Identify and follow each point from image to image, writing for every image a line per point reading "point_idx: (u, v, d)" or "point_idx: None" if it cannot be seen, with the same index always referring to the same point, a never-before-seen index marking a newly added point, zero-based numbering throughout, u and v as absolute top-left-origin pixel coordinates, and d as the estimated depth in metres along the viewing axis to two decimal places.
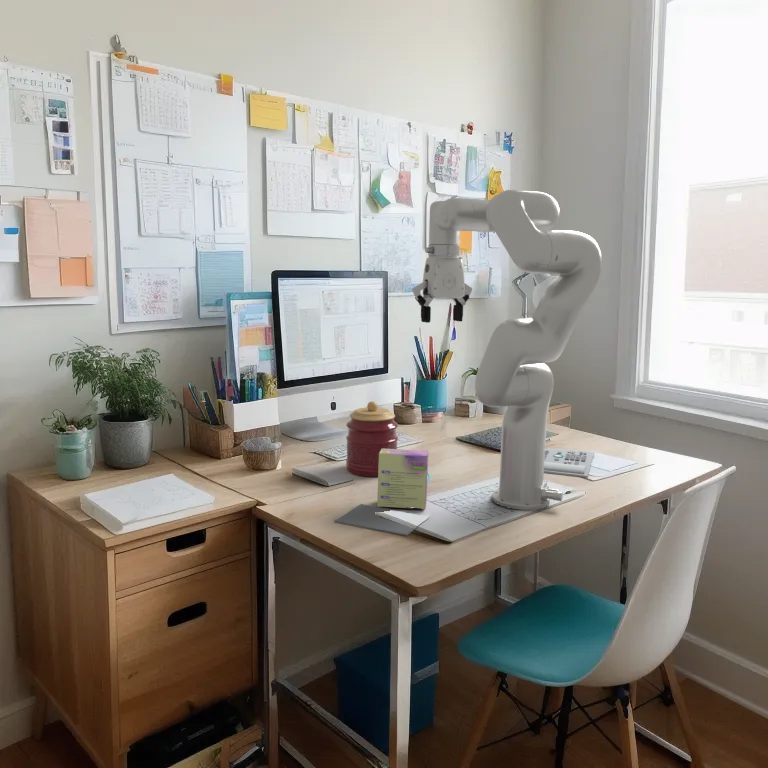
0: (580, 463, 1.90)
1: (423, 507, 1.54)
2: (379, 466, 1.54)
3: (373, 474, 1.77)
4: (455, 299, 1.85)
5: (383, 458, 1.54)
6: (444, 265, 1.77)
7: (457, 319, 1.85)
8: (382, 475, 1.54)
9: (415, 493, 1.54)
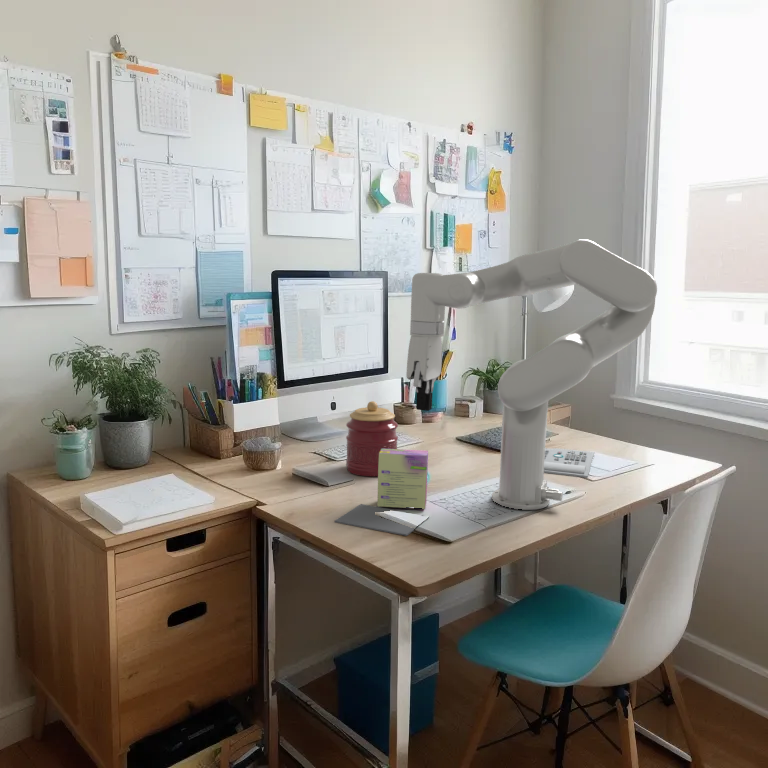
0: (580, 463, 1.90)
1: (423, 507, 1.54)
2: (379, 466, 1.54)
3: (373, 474, 1.77)
4: None
5: (383, 458, 1.54)
6: None
7: None
8: (382, 475, 1.54)
9: (415, 492, 1.54)
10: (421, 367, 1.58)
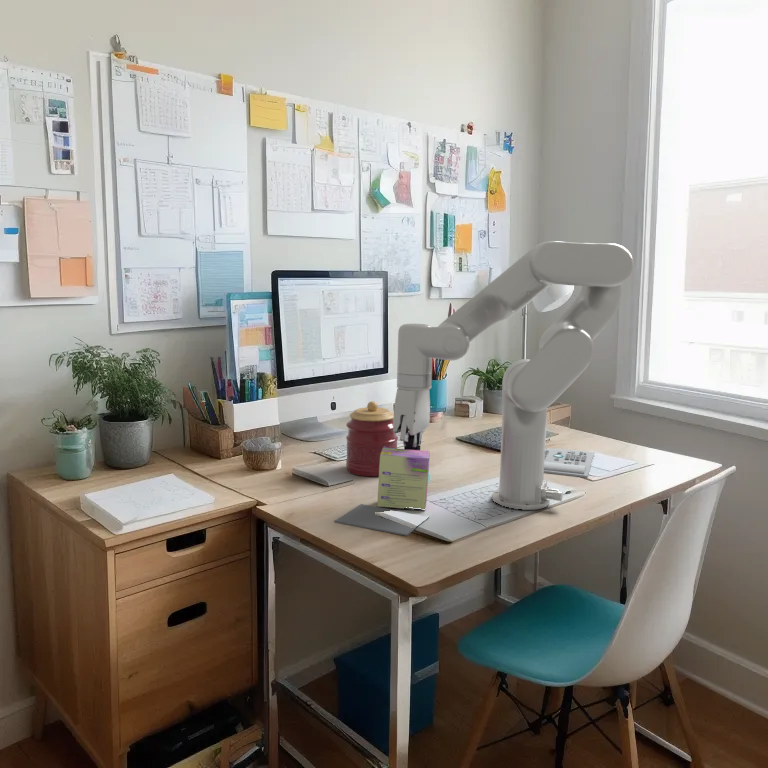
0: (580, 463, 1.90)
1: (423, 508, 1.54)
2: (380, 467, 1.53)
3: (373, 474, 1.77)
4: None
5: (384, 459, 1.53)
6: None
7: None
8: (383, 476, 1.53)
9: (416, 494, 1.53)
10: (408, 421, 1.54)
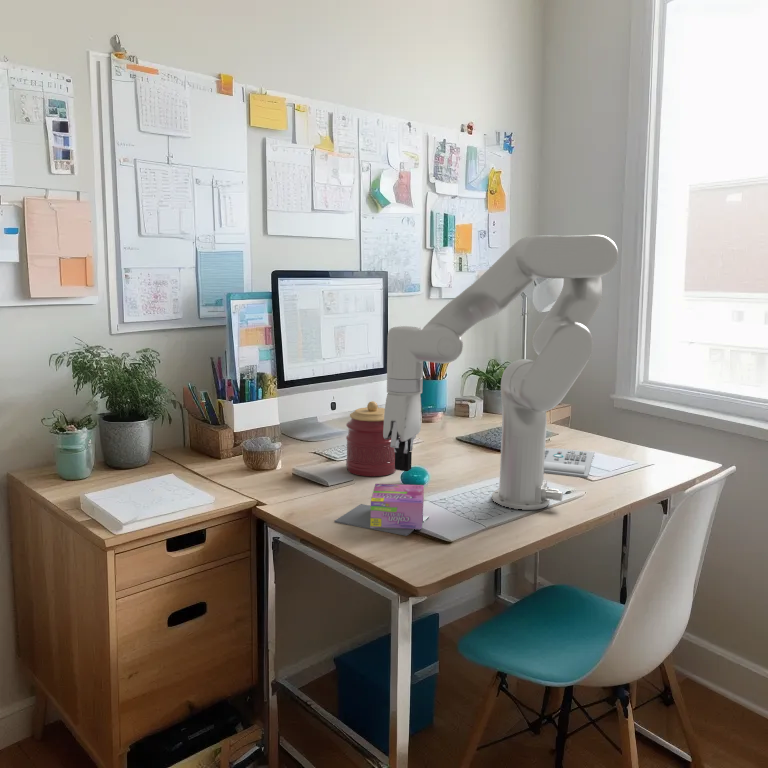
0: (580, 463, 1.90)
1: None
2: None
3: (373, 474, 1.77)
4: None
5: None
6: None
7: None
8: None
9: None
10: (398, 427, 1.49)
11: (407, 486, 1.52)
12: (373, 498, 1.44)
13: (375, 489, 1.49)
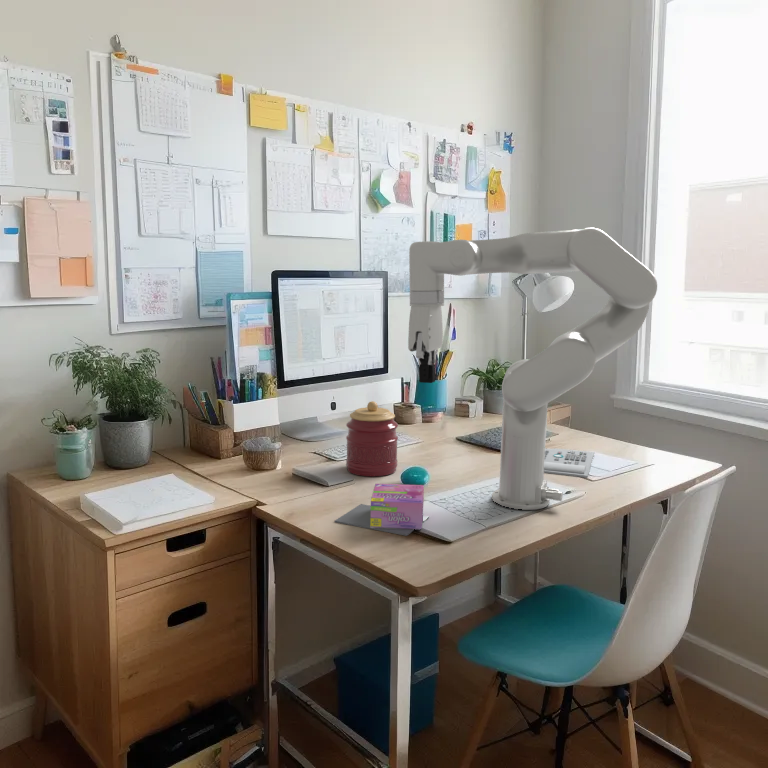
0: (580, 463, 1.90)
1: None
2: None
3: (373, 474, 1.77)
4: None
5: None
6: None
7: None
8: None
9: None
10: (423, 337, 1.55)
11: (407, 486, 1.52)
12: (373, 498, 1.44)
13: (375, 489, 1.49)
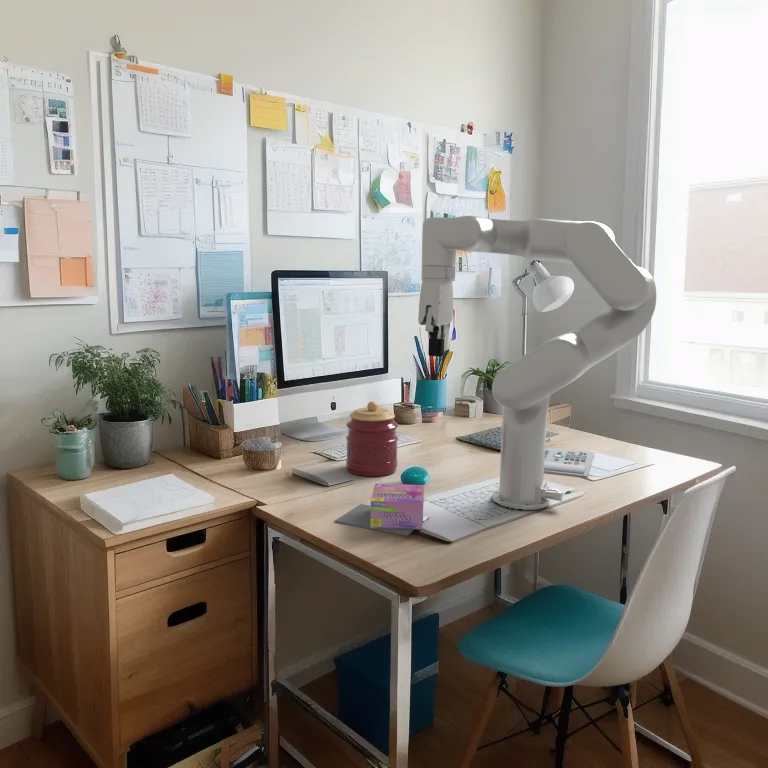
0: (580, 463, 1.90)
1: None
2: None
3: (373, 474, 1.77)
4: None
5: None
6: None
7: None
8: None
9: None
10: (433, 311, 1.58)
11: (407, 486, 1.52)
12: (373, 498, 1.44)
13: (375, 489, 1.49)
